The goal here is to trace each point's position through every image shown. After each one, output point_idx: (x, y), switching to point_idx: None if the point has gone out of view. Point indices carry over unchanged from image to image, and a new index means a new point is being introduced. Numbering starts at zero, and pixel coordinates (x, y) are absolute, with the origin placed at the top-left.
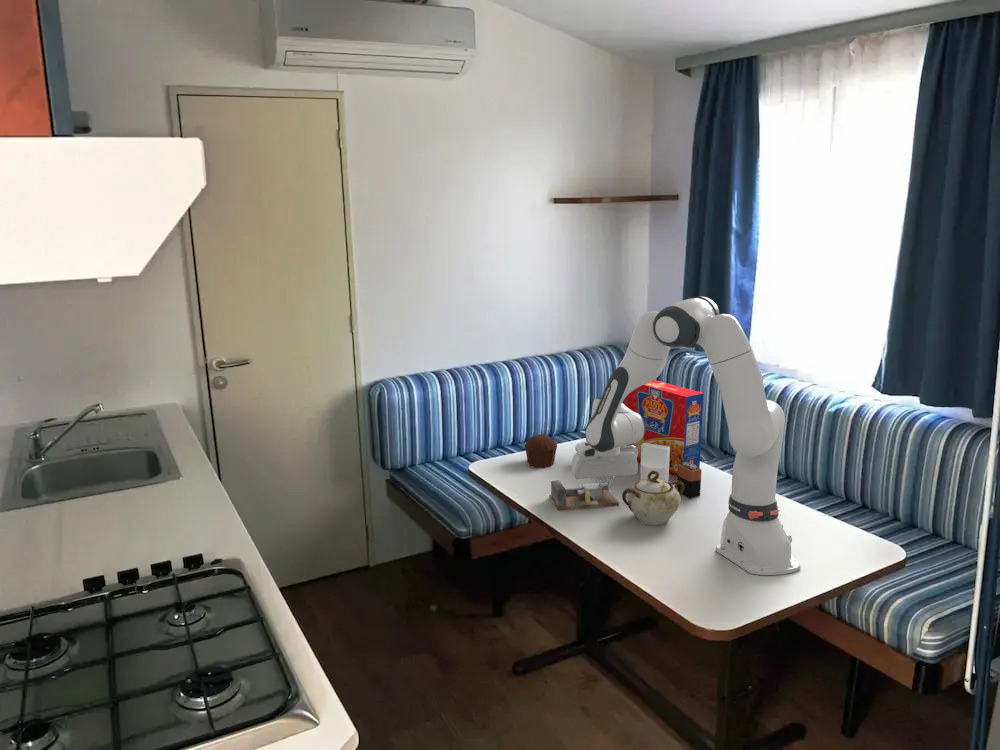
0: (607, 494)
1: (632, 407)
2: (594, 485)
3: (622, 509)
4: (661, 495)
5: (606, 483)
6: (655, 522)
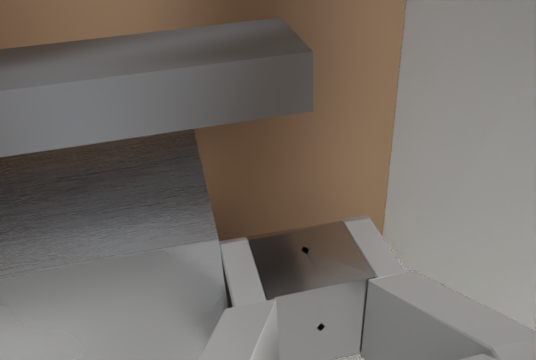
0: (335, 118)
1: None
2: (122, 349)
3: (356, 356)
4: None
5: (370, 309)
6: None
